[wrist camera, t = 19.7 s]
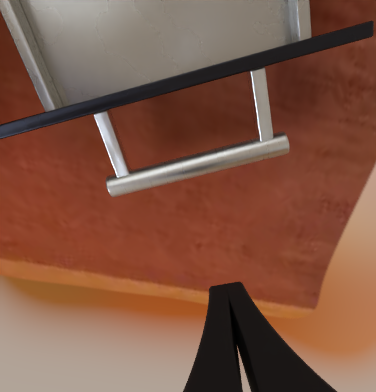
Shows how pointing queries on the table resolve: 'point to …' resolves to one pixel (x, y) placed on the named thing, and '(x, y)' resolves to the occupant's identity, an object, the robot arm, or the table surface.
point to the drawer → (158, 66)
